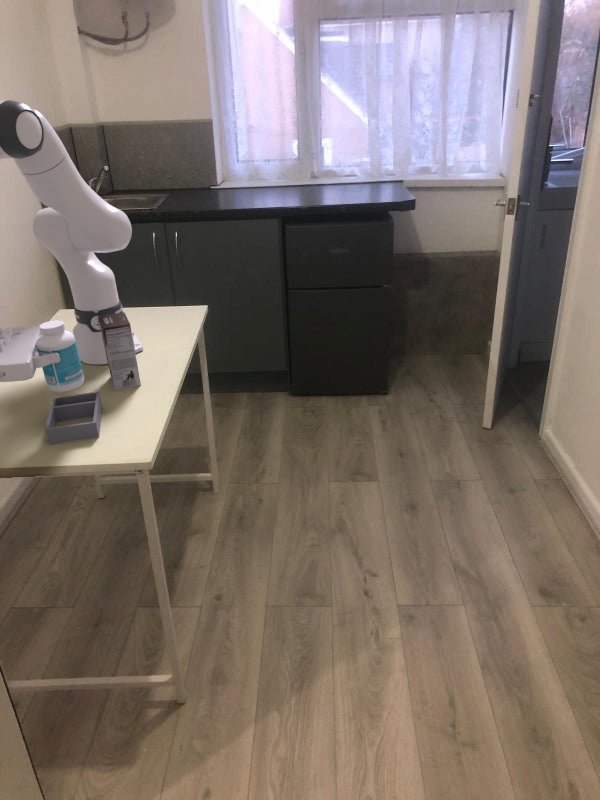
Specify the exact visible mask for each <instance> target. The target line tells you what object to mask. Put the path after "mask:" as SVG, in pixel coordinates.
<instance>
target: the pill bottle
mask: <svg viewBox="0 0 600 800" xmlns="http://www.w3.org/2000/svg"><path fill="white" fill-rule="evenodd" d="M38 327H39V328H40V332H41V334H42V335H41V336H39V337H38V339H37V341H36V346H37V350H38V353H39V355H40V356H42V355H46V354H50V352H56V351H58V352H59V353H60V356H61V359H60V362H58V363H51V364H49V365H46V366H44V367H41V368H42V372H43V376H44V380H45V382H46V386H47V389H49V390H50V391H52V392H55V393H65V392H69V391H73V390H75V389H78V388H79V387H81V386H82V385H83V384H84V383H85V375H84V371H83V368H82V367H83V366H82V361H80V358H79V354H78V349H77V345H76V341H75V337H74V335H73V332H71V331H69V330H66V325H65V322H64V321H62V320H59V319H56V320H49V321H46V322H43V323H41V324H39V326H38Z"/></svg>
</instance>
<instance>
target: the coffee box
mask: <svg viewBox="0 0 600 800" xmlns="http://www.w3.org/2000/svg"><path fill="white" fill-rule="evenodd" d="M98 319H99V323H100V328H101V333H102V338H103V343H104V348H105V353H106V357H107V362H108V364H107V365H108V371H109V374H110V375H109V376H110V378H111V379H110V380H111V382H112V384H113V387H114V391H120V390H126V389H131V388H135V387H136V388H137V387H141V385H142V384H141V379H140V373H139V372H140V371H139V367H138V361H137V355H136V354H137V353H135V348H134V343H133V337H132V331H133V330H132V325H131V322H130V321H129V318H128V317H127V315H126V313H125V312H124V311H123V313H117V314H108V315H102V316H98ZM130 325H131V326H130ZM131 330H132V331H131Z"/></svg>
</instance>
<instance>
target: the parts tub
mask: <svg viewBox="0 0 600 800" xmlns="http://www.w3.org/2000/svg"><path fill="white" fill-rule="evenodd" d="M102 411H103V401H102V396H101V393H100V391H93V392H91V391H90V392H83V393H80V394H79V393H77V394H71V395H64V396H58V397H57V396H55V397H53V398H52V402H51V406H50V410H49V414H48V416H47V421H46V425H45V429H44V430H45V435H46V439H47V442H48V445H55V444H61V443H67V442H75V441H76V442H77V441H81V440H90V439H97V438H100V431H101V425H102V424H101V423H102V422H101V420H102V415H103V414H102ZM92 417H93V419H92V421H89V422H81V423H73V424H68V425H60V426H57V424H58V422H66V421H71V420H79V419H85V418H86V419H87V418H92Z"/></svg>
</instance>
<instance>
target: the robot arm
mask: <svg viewBox="0 0 600 800" xmlns="http://www.w3.org/2000/svg"><path fill="white" fill-rule="evenodd" d="M2 159H3V160H5V159H13V160H14V162H15V164H16V166H17V168H18V169H19V171H20V172H21V174H22V176H23V177H24V179H25V181H26V183H27V185H28V186H29V188H30V189H31V191H32V193H33V195H34V196H35V198H37V200H38V201H39V202H41V204H43V205H44V206H47V207H45V208H41V209H39V210H38V211H37V212H36V214H35V215H34V218H33V221H32V231H33V235H34V238H35V239H36V240H37V242H38V243H39V244H40V245H41V246H42V247H44V248H45V249H46V250H48V251H49V252H50V253H51V254H52V256H53V257H54V258H55V259H56V261H57V262H58V263H59V265H60V267H61V268H62V269H63V272H64V273H65V275H66V277H67V279H68V280H67V281H68V284H69V287H70V291H71V295H72V298H73V303H74V307H73V311H74V317H75V320H76V324H75V325H74V327H73V328H72V334H73V335H74V337H75V341H76V345H77V349H78V354H79V358H80V362H81V363H84V364H88V365H106V364H107V365H108V362H107V357H106V353H105V348H104V343H103V338H102V333H101V328H100V323H99V319H98V316H102V315H108V314H117V313H123V312H124V310H123V309H124V308H123V305H122V302H121V300H120V299H119V294H118V289H117V284H116V277H115V274H114V272H113V270H112V269H111V268H110V267H109V266H107V265H106V264H104V263H103V262H102V261H100V259H98V257H97V256H96V254H95V253H103V254H106V253H113V252H118V251H123V250H125V249H126V248H127V247H128V245H129V243H130V241H131V239H132V234H133V233H132V232H133V228H132V224H131V221H130V219H129V217H128V215H127V214H126V212H124V211H123V210H121V209H119V208H117V207H115V206H113V205H112V204H110V203H108V202H107V201H106V200H104V199H103V198H102V197H101V196H100V195H99V194H98V193H96V192H95V191H94V189H92V188H91V186H90V185H88V184H87V182H86V181H85V180H84V178H83V177H82V176H81V174H80V172H79V171H78V168H77V167H76V165H75V164H74V162H73V160H72V158H71V157H70V154H69V153H68V151H67V149H66V147H65V145H64V144H63V142H62V140H61V138H60V137H59V135H58V133H57V132H56V131H55V129H54V128H53V126H52V125H51V123H50V122H49V121H48V120H47V119H46V117H45V116H44V115H43V114H42V113H41V112H40V111H39V110H37V109H35V108H32V107H31V106H29V105H28V104H26V103H23V102H20V101H17V100H10V99H9V100H8V99H7V100H1V99H0V160H2ZM130 326H131V327H132V325H131V324H130ZM131 331H132V337H133V343H134V348H135V354H137V353H139V352H142V351H143V350H144V348H143V344H142V343H141V341H140V340H139V338H138V337H137V335H136V334H135V332H134V331H133V330H132V329H131ZM41 335H42V334H41V332H40V328H39V326H35V325H32V326H29V325H28V326H16V327H8V328H6V329H3V327H1V326H0V383H8V382H10V383H11V382H13V383H14V382H22V381H28V380H30V379H33V378H34V376H35V373H36V370H37V369H39V368H42V367H44V366H46V365H49V364H51V363H58V362H60V359H61V356H60V353H59V352H58V351H56V352H50V354H46V355H42V356H40V355H39V353H38V350H37V346H36V341H37V339H38V337H39V336H41Z"/></svg>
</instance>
